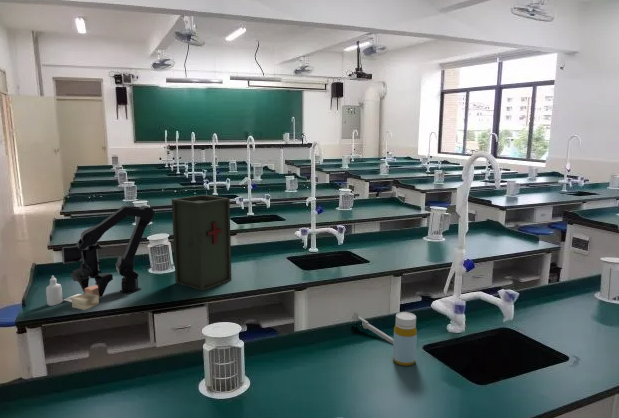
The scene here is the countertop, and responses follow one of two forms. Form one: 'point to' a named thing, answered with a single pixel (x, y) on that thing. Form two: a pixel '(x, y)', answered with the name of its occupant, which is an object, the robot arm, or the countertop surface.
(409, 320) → the bottle
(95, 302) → the beech base block
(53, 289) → the eye dropper bottle
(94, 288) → the terracotta brick
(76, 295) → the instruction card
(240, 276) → the countertop surface
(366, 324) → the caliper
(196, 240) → the first aid box
